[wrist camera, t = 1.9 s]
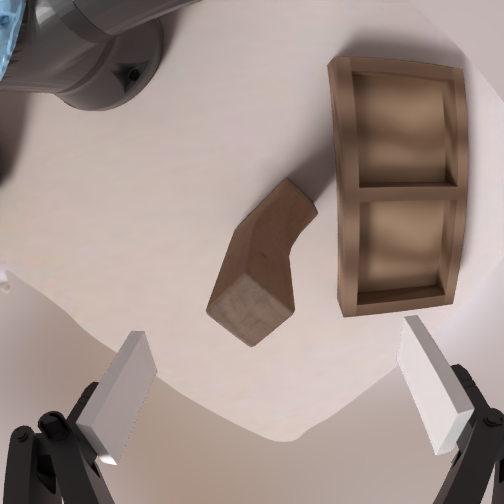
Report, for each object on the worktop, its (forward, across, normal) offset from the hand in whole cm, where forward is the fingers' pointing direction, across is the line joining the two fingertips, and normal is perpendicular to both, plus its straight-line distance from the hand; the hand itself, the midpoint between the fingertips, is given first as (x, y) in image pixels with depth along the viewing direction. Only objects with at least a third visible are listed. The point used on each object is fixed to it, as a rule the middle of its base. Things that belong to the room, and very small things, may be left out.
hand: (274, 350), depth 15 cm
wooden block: (+24, 0, 0) cm, 24 cm away
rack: (+24, +15, +3) cm, 28 cm away
